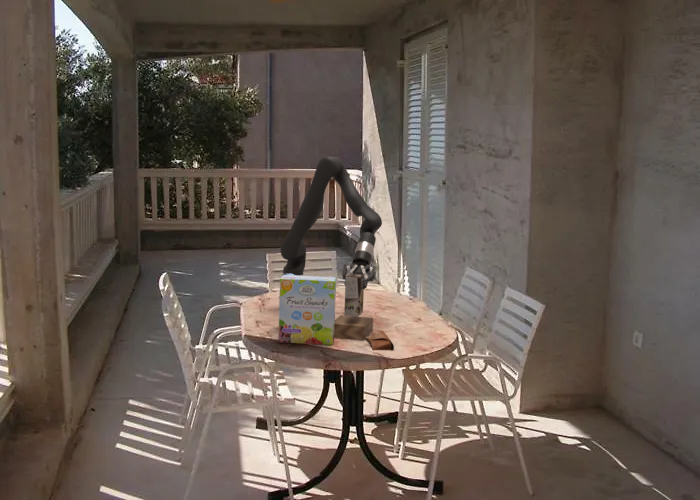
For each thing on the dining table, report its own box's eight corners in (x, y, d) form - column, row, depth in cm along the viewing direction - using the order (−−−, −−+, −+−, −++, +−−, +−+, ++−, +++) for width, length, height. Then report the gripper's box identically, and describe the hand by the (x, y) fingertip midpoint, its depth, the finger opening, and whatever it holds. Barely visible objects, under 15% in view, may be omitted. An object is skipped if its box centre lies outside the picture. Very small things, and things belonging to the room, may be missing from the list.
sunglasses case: (363, 338, 318) (372, 324, 318) (378, 346, 320) (386, 332, 320) (372, 350, 301) (381, 335, 301) (387, 359, 302) (397, 344, 302)
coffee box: (359, 317, 319) (360, 277, 317) (343, 315, 320) (345, 276, 318) (363, 312, 328) (364, 273, 325) (348, 311, 329) (349, 272, 327)
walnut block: (330, 338, 319) (330, 323, 318) (340, 329, 335) (340, 315, 334) (363, 341, 316) (364, 326, 315) (372, 332, 331) (373, 317, 330)
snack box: (277, 343, 307) (278, 278, 304) (280, 337, 316) (281, 274, 312) (333, 345, 306) (335, 280, 303) (334, 340, 315) (336, 276, 311)
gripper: (345, 248, 332) (336, 280, 322) (378, 250, 328) (370, 283, 318) (348, 259, 338) (339, 291, 328) (381, 261, 334) (373, 294, 324)
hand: (354, 287), depth 323 cm, fingers closed on coffee box, 6 cm apart
